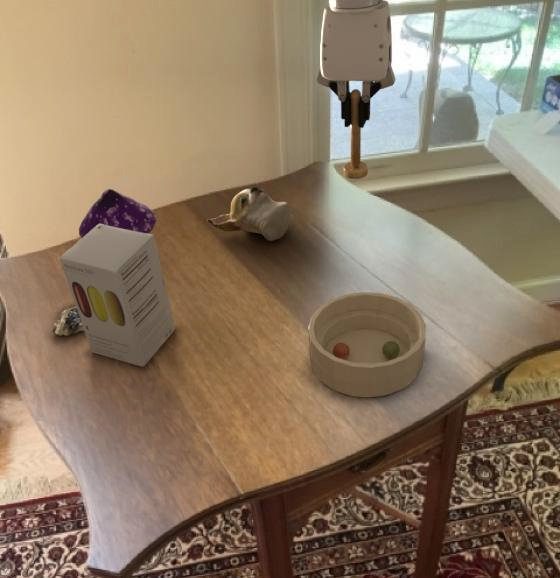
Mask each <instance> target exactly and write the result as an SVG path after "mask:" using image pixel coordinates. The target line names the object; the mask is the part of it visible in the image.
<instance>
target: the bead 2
mask: <svg viewBox="0 0 560 578" xmlns="http://www.w3.org/2000/svg"><path fill="white" fill-rule="evenodd" d="M399 352H400V348H399V345H398V344H397V343H396V342H394V341H388V342H386V343H385V344H384V345H383V347H382V353H383V355H384V356H385V357H387V358H390V359H392V358H395V357H397V356H398V354H399Z"/></svg>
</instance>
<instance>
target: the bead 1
mask: <svg viewBox="0 0 560 578" xmlns="http://www.w3.org/2000/svg"><path fill="white" fill-rule="evenodd" d="M349 354H350V348H349V346H348V345H347V344H345V343H338V344H336V345H335V346H334V348H333V355H334V356H335V357H337V358H340V359H343V360H344V359H346V358H347V357H348V356H349Z"/></svg>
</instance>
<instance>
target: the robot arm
mask: <svg viewBox="0 0 560 578" xmlns="http://www.w3.org/2000/svg"><path fill="white" fill-rule="evenodd" d="M322 14H323V15H322V22H321V36H320V54H319V55H320V59H319V60H320V65H319V66H320V68H319V71H318V75H317V77H316V82H317V84H319V85H321V86H323V87H325V88H329V89H330V90H331V91H332V92H333V93H334V94H335V95H336V97H337V99H338V100H339V102H340V119H341V120H344V124H343V125H344V128H349V127H351V100H350V95H351V92H352V91H351V89H350V88H351V87H350V82H362V83H361V100H360V101H359V104H358V127H360V128H361V129H363V128H365V127H364V126H365V125H366V123H367V121H370V118H371V99H372V98H374V96H375V95H376V94H377V93H378V92H379V91H380V90H384V89H387V88H390V87H393V86H394V85H395V83H396V80H397V79H396V76H395V73H394V70H393V67H392V64H393V63H392V62H393V38H392V37H393V36H392V35H393V34H392V18H391V10H390V4H389V2H388V0H328V2H326V3H325V5H324V9H323V13H322Z"/></svg>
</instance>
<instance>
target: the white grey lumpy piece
mask: <svg viewBox="0 0 560 578" xmlns="http://www.w3.org/2000/svg"><path fill="white" fill-rule="evenodd" d="M59 318H60V320H59V319H57V318H56V320H57V323H56V322H55V323H53V325H54V327H53V328H52V332H51V333H53V334H54V335H56V336H59V337H62V336H63V335H64V337H68V336H70V335H72V334H74V335H75V334H77V333H78V332H85V331H84V328H83V325H82V322H81V319H80V316H79V313H78V310H77V307H76V305H75V306H72V307H71V306H70V307H69V308H67V309H65V310H63V311H61V315H60V316H59Z"/></svg>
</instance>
